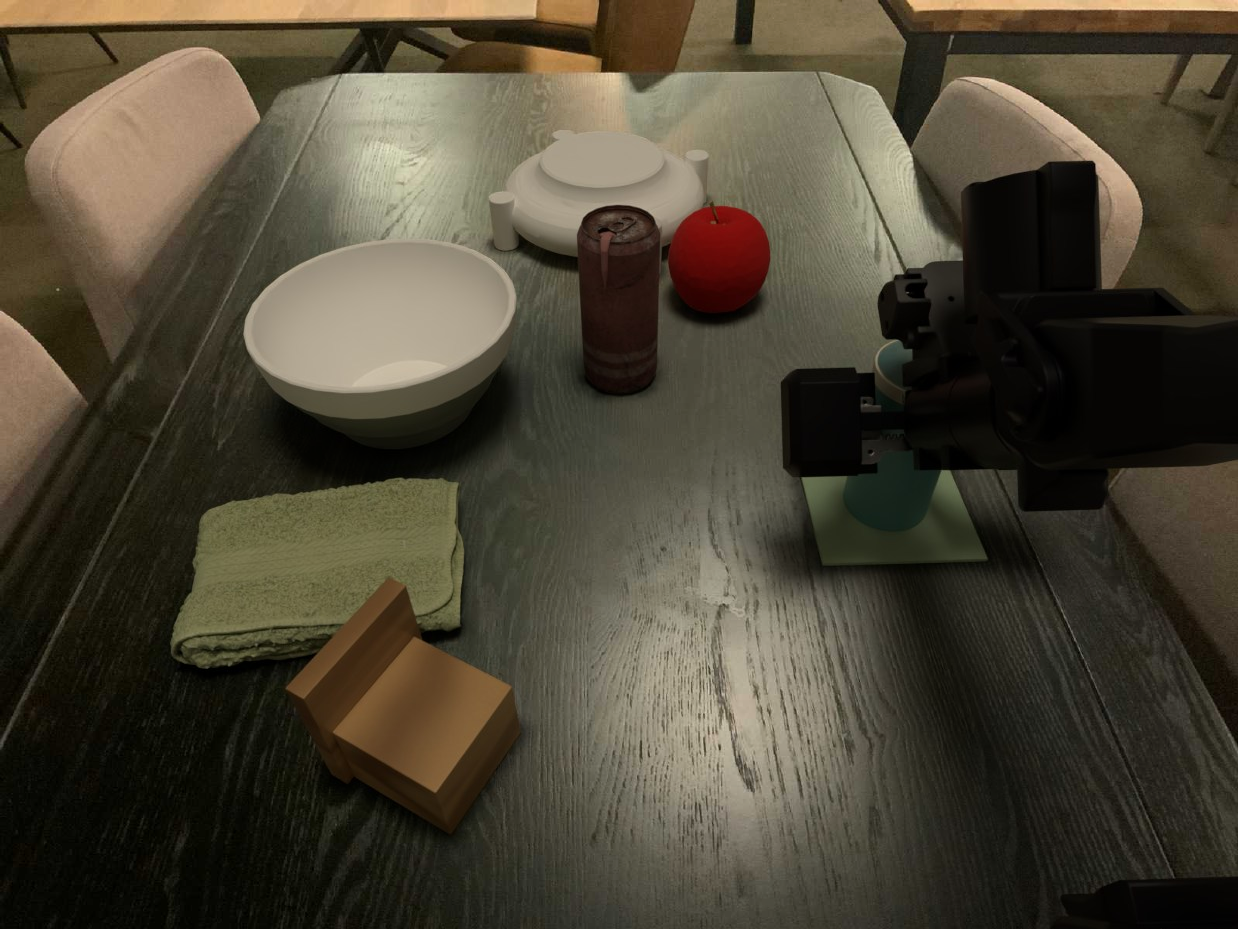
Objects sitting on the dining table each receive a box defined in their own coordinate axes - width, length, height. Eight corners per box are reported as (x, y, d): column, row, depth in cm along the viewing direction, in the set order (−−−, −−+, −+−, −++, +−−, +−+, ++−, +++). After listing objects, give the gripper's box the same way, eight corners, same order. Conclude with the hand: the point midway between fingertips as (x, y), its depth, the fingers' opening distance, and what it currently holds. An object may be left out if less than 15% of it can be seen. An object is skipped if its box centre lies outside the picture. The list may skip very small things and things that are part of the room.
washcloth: (471, 639, 53) (464, 608, 51) (175, 684, 51) (154, 654, 49) (463, 489, 62) (456, 457, 60) (211, 522, 60) (195, 490, 58)
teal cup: (935, 534, 58) (986, 400, 50) (846, 530, 59) (882, 395, 50) (920, 472, 63) (964, 339, 54) (837, 469, 63) (869, 335, 55)
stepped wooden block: (526, 725, 49) (510, 636, 43) (445, 844, 44) (413, 763, 38) (418, 668, 52) (388, 576, 45) (331, 774, 47) (284, 688, 41)
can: (577, 394, 70) (567, 241, 60) (591, 348, 74) (585, 198, 64) (650, 402, 69) (653, 248, 59) (660, 354, 74) (665, 203, 64)
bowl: (542, 336, 76) (533, 240, 69) (507, 498, 62) (492, 396, 55) (325, 330, 77) (296, 234, 70) (243, 487, 63) (197, 386, 56)
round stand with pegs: (536, 308, 79) (529, 238, 74) (460, 195, 94) (451, 132, 89) (761, 250, 86) (769, 182, 81) (656, 154, 101) (657, 92, 96)
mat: (986, 561, 57) (988, 558, 57) (822, 566, 57) (823, 563, 57) (938, 448, 65) (939, 445, 65) (793, 452, 65) (794, 449, 65)
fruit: (691, 264, 84) (696, 166, 77) (778, 287, 81) (792, 187, 74) (649, 312, 78) (650, 211, 71) (741, 339, 75) (752, 236, 68)
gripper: (1187, 243, 42) (1031, 304, 58) (810, 251, 42) (756, 311, 58) (1194, 468, 42) (1036, 469, 58) (817, 478, 42) (760, 476, 58)
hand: (897, 427), depth 58 cm, fingers closed on teal cup, 6 cm apart
